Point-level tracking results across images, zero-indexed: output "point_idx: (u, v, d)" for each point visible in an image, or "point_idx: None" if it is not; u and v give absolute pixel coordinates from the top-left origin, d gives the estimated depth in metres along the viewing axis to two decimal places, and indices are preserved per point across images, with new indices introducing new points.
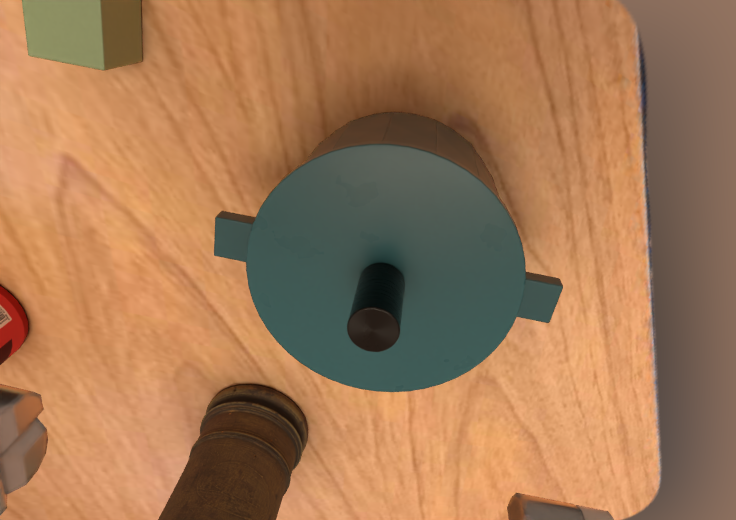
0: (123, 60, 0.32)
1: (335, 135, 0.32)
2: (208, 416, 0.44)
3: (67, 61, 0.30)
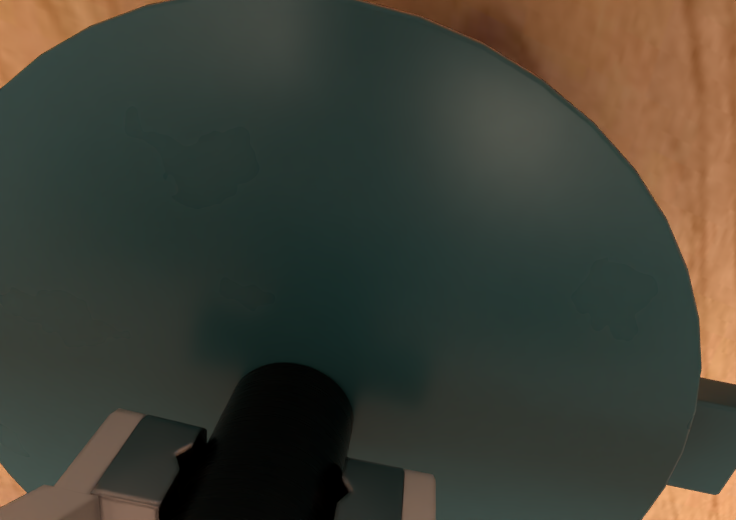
0: None
1: None
2: None
3: None
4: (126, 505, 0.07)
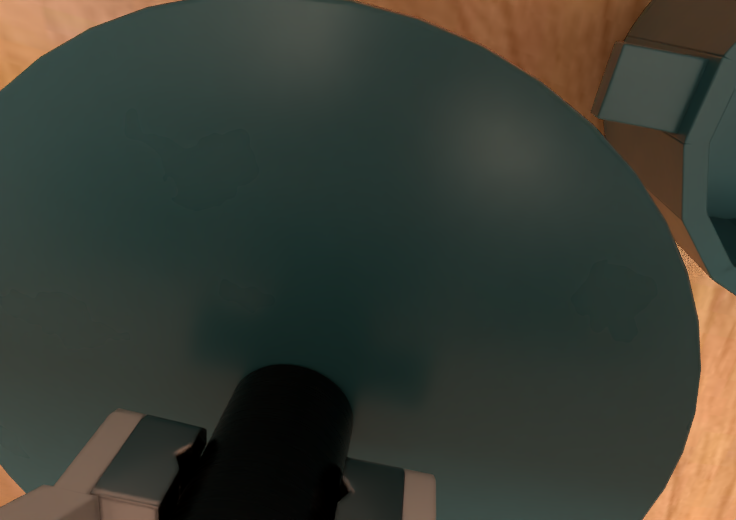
0: None
1: None
2: None
3: None
4: (126, 505, 0.07)
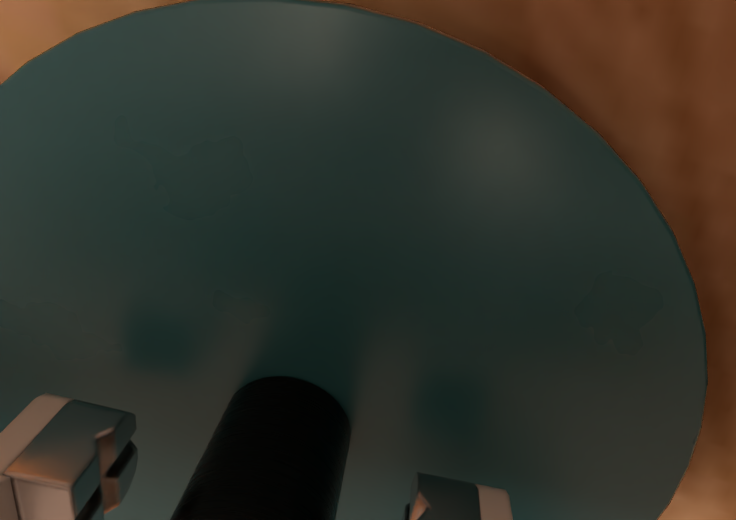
0: None
1: None
2: None
3: None
4: (39, 486, 0.07)
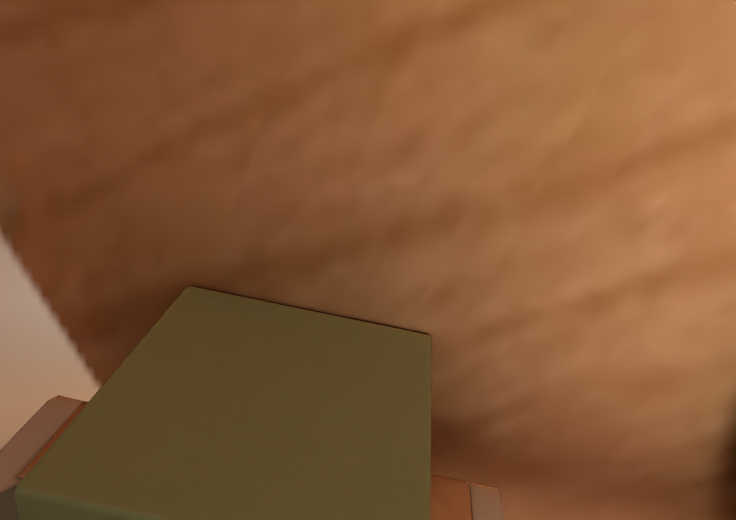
0: (407, 426, 0.07)
1: None
2: None
3: None
4: None
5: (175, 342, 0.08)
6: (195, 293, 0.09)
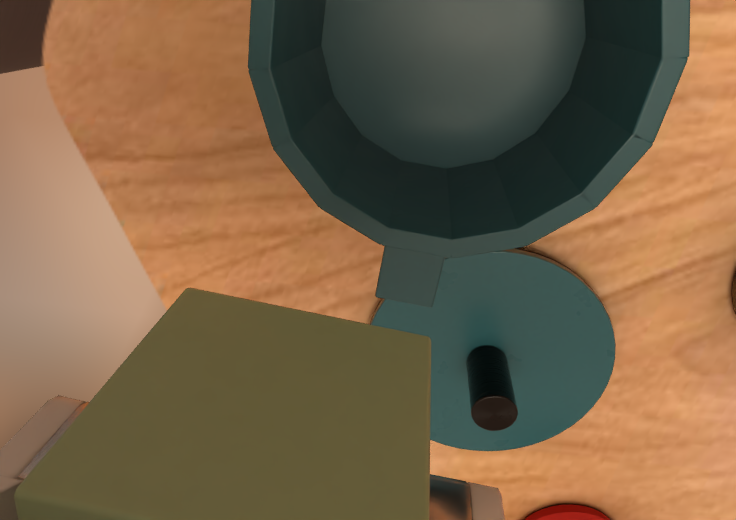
0: (406, 428, 0.07)
1: None
2: None
3: None
4: None
5: (174, 344, 0.08)
6: (194, 295, 0.09)
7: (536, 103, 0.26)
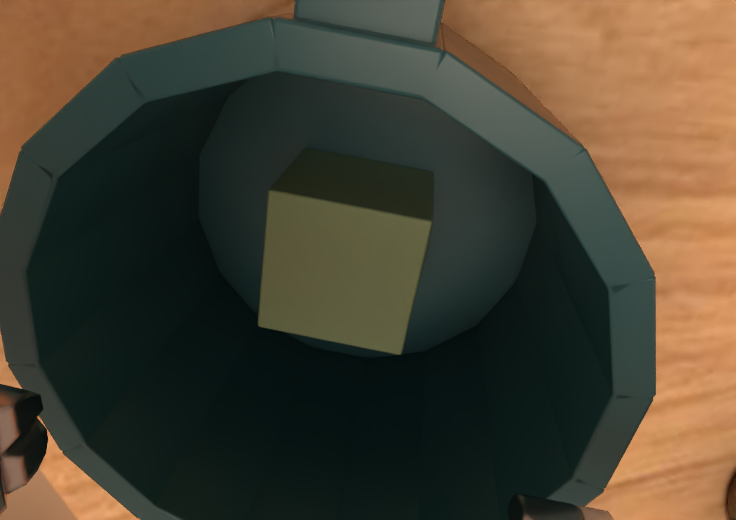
0: (422, 192, 0.16)
1: None
2: None
3: (412, 289, 0.15)
4: None
5: (309, 163, 0.17)
6: (310, 150, 0.18)
7: (476, 293, 0.20)
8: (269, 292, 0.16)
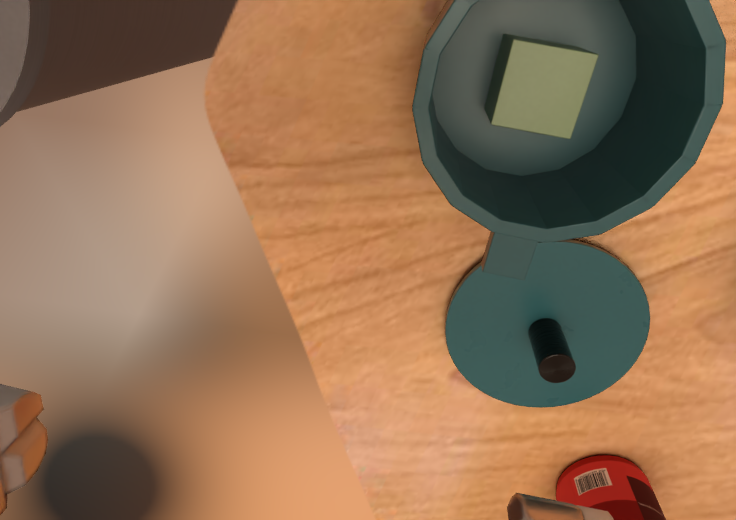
0: (582, 49, 0.29)
1: None
2: None
3: (583, 96, 0.28)
4: None
5: (515, 36, 0.30)
6: (508, 34, 0.31)
7: (595, 126, 0.33)
8: (502, 101, 0.29)
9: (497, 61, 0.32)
